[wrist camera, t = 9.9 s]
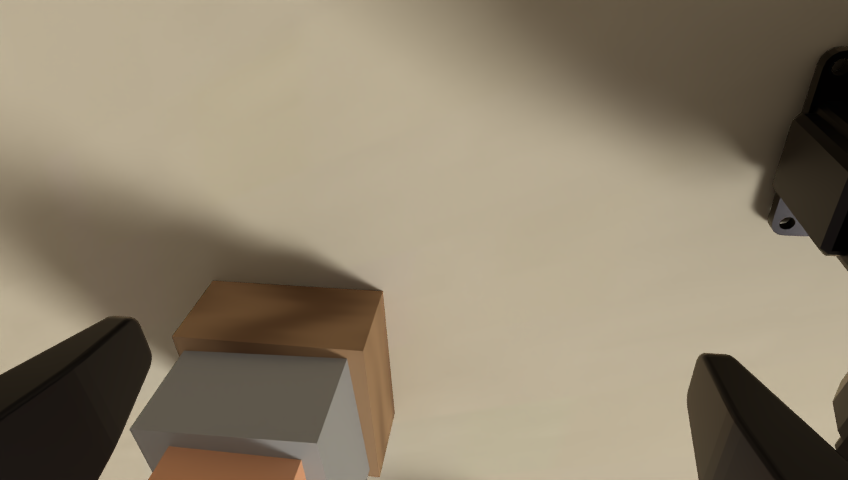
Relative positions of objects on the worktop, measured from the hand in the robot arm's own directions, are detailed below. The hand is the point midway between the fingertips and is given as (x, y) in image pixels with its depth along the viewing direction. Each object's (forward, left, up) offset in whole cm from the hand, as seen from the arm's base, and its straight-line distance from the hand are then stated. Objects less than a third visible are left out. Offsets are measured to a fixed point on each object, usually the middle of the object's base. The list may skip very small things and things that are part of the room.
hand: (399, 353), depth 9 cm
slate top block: (+8, +13, -9) cm, 18 cm away
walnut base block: (+8, +13, -13) cm, 20 cm away
